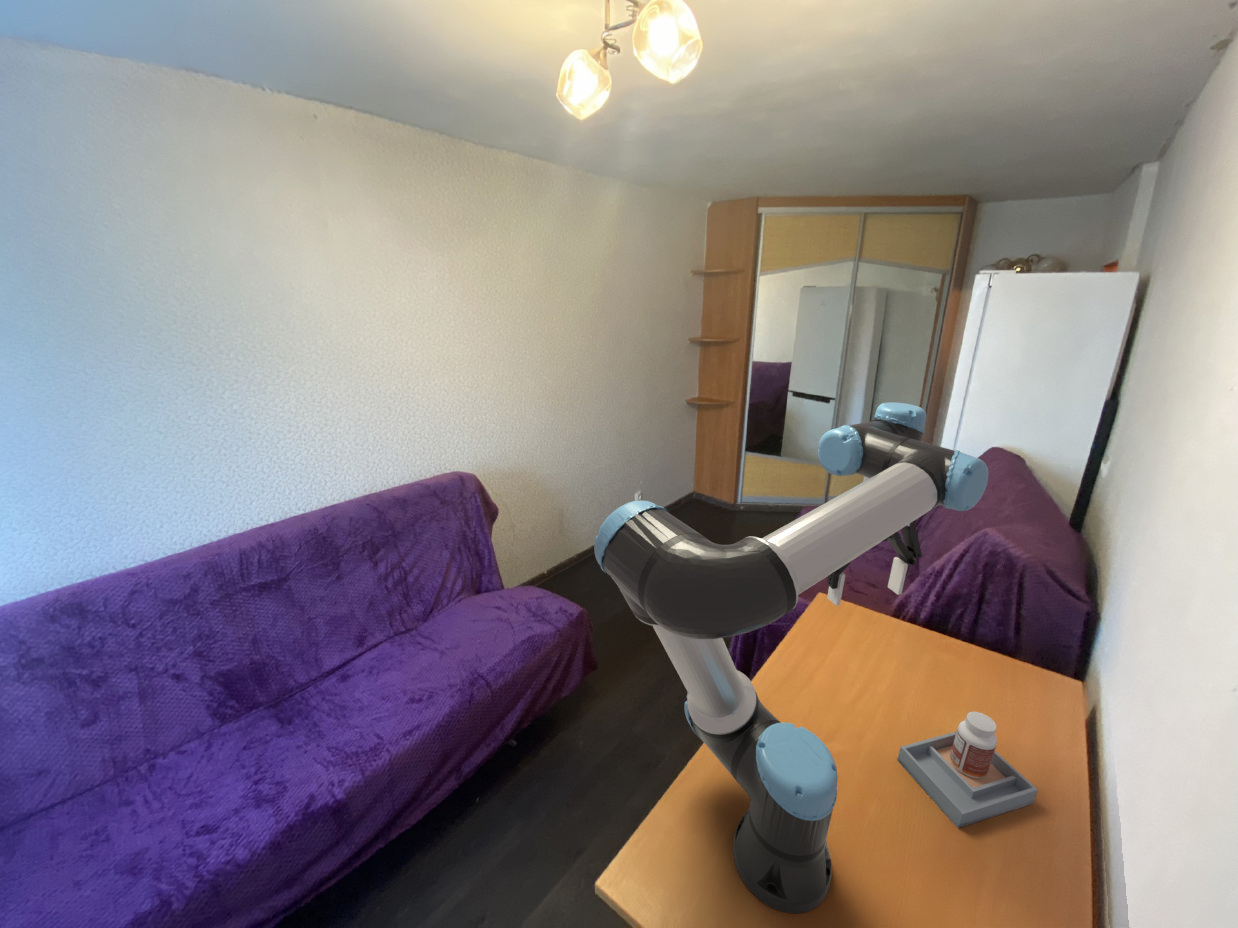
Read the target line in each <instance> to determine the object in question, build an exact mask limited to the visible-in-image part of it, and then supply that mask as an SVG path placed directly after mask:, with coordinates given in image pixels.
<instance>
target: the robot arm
mask: <svg viewBox="0 0 1238 928" xmlns="http://www.w3.org/2000/svg"><path fill="white" fill-rule="evenodd" d="M874 414H875V415H873V420H871V421H865V422H862V423H861V422H859V423H855V424H845V425H842V426H839V427H837V428H833V429H830V430H828V431H826V432H825V433H824V434H823V435H822V436H821V438H820V440H819V442H818V446H817V448H818V449H817V456H818V459H819V462H820V465H821V466H822V468H823V469H824V470H825V471H826V472H828V473H829V474H831V475H833V476H837V477H842V476H853V475H855V474H856V475H860V476H863V480H862V482H861V483H859V484H857V485H856V486H854V487H851V488H850V489H848V490H846V491H845V492H842V493H841V494H840V495H837V496H835V497H834V498H832V499H830V500H828V501H827V502H825V503H823V504H821V505H819V506H817V507H816V508H814V509H812V510H811V511H809V512H807V513H805V514H804V515H802V516H799V517H798V518H796V519H794V520H792V521H790V522H788V524H784V526H781V527H780V528H778V529H776V530H775V531H773V532H771V533H769V534H767V535H765V536H764V537H762V538H760V537H757V536H755V535H754V536H750V535H749V536H746V537H743V538H742V539H741V540H739V541H736V542H735V543H732V544H720V543H715V542H712V541H711V540H709V538H707V537H705V536H704V535H702V534H701V533H699V532H698V531H696V530H695V529H693V528H692V527H690V526H689V525H687V524H686V523H684V522H683V521H682V520H680V519H678V518H677V517H675V516H674V515H672V514H671V513H670V512H669V511H668V509H667V508H665V507H664V506H660V505H658V504H656V503H654V502H651V501H649V500H633V501H629V502H626V503H625V504H623V505H621V506H619V507H618V508H617V507H616V509H615V510H614V511H613V512H611V513H610V514H609V515H608V516H607V517H606V518H605V520H604V521H603V522H602V524H601V526H600V527H599V530H598V531H599V532H598V534H597V535H596V537H595V540H594V544H593V545H594V548H593V549H594V552H593V553H594V556H595V559H596V561H597V563H598V565H599V567H600V569H601V570H602V571H603V573H605V574H607V575H609V576H610V577H611V579H612V580H613V581H614V583H615V584H616V585H617V588H619V589H618V590H619V591H620V592H621V594H622V596H623V598H624V599H625V602H626V603H627V605H628V607H629V609H630V610H631V612H632V613H633V615H634V616H635V618H637V620H638V621H640V622H642V623H643V624H646V625H649V626H651V627H653V630H654V631H655V633H656V635H657V637H658V638H659V641H660V642H661V644H662V646H663V648H664V650H665V652H666V654H667V656H668V658H669V659H670V661H671V663H672V665H673V667H674V668H675V671H676V672H677V675H679V676H678V677H679V678H680V680H681V682H682V684H683V686H684V688H685V689H686V691H687V695H686V699H687V700H686V701H684V714H685V718H686V721H687V723H688V724H689V726H690V728H691V730H692V731H693V733H694V734H695V735H696V737H697V738H698V739H700V740H701V741H702V742H703V743H704V744H705V746H706V747H707V748H708V750H710V751H711V753H712V754H713V755H714V757H716V759H717V760H718V761H719V762H720V763H721V765H722V766H724V768H725V769H726V770H727V771H728V772H729V774H730V775H731V776H732V778H733V779H734V780H735V781H736V783H737V784H738V785H739V786H740V787H741V788H742V789H743V791H744V792H745V793H746V795H748V797H749V799H750V801H749V808H748V810H747V811H746V812H745V813H744V815H743V816H742V818H741V819H740V820H739V822H738V824H737V826H736V829H735V833H734V836H733V847H732V852H733V853H732V854H733V861H734V865H735V867H736V870H737V873H738V875H739V877H740V879H741V881H742V882H743V883H744V885H745V887H746V888H748V890H749V891H750V892H751V893H752V895H754V896H755V898H757V899H758V900H760V901H761V902H762V903H764V904H765V905H766V906H769V907H771V908H772V909H775V910H777V911H779V912H784V913H789V914H802V913H807V912H810V911H812V910H814V909H815V908H817V907H818V906H819V905H820V904H821V903H822V902H823V901H824V900H825V898H826V897H827V895H828V892H829V889H830V884H831V881H832V880H831V879H832V872H833V871H832V870H833V866H832V865H833V863H832V859H831V854H830V850H829V847H828V846H829V845H828V841H827V837H828V832H829V828H830V825H831V819H832V814H833V810H834V807H835V805H836V802H837V796H838V789H837V788H838V776H839V775H838V769H837V765H836V762H835V759H834V757H833V755H832V753H831V751H830V750H829V748H828V747H827V745H826V744H825V743H824V742H823V741H822V739H821V738H819V737H818V736H817V735H816V734H815V733H813V732H812V731H810V730H809V729H807V728H806V727H804V726H801V725H800V726H799V727H796V726H795V724H794V723H792V722H781V721H780V720H779V719H778V718H777V717H775V715H774V714H773V713H772V712H770V710H768V709H767V708H766V707H765V706H764V705H763V703H762V702H761V700H760V698H759V696H758V693H757V691H756V689H755V687H754V684H753V683H752V681H751V680H750V678H749V677H748V676H747V675H746V674H744V673H743V672H741V671H740V670H738V669H737V668H736V666H735V663H734V661H733V658H732V657H731V654H730V651H729V649H728V648H727V646H726V645H727V644H726V643H725V640H724V638H731V637H735V636H739V635H744V634H746V633H750V632H752V631H753V632H754V631H756V630H758V629H761V628H763V627H766V626H768V625H770V624H772V623H774V622H776V621H777V620H779V619H781V618H782V617H784V616H785V615H787V614H789V613H790V612H792V611H793V610H794V609H795V608H796V606H797V605H798V601H799V595H800V594H802V593H803V592H805V591H807V590H808V589H809V588H812V586H815V585H816V584H817V583H819V582H821V581H822V580H824V579H826V578H827V581H826V583H827V586H828V589H827V596H826V598H827V599H828V600H829V601H830V602H831V603H832V604H833V605H834V606H835V607H839V606H841V601H842V596H843V590H844V585H845V579H846V574H845V573H844V571H845V570H846V569H847V568H848V567H849V566H850V564H851V563H852V562H853V561H854V560H855V559H856V558H859V557H860V556H862V555H863V554H864V553H866V552H868V551H869V550H871V549H872V548H874V547H875V546H877V545H879V544H880V543H881V542H888V543H889V544H890V545H891V547H892V548H893V551H895V553H896V555H897V556H895V557H893V560H892V564H891V565H892V566H891V570H890V575H889V579H888V583H887V588H888V589H889V590H891V591H892V592H893V593H895V594H896V595H897V596H900V595H902V593H903V589H904V583H905V580H906V577H907V576H908V574H909V571H910V570H909V569H910V565H911V566H916V564H917V560H919V559H921V558H922V556H923V553H922V550H921V543H920V541H919V537H918V532H917V528H916V525H917V524H916V523H917V520H918V519H919V518H920V517H922V516H924V515H925V514H927V513H928V512H930V511H931V510H934V509H935V508H937V507H938V506H942V507H944V508H945V509H947V510H949V509H950V510H954V511H958V512H965V511H969V510H971V509H972V508H973V507H975V506H976V505H977V503H978V502H979V501H980V500H981V499H982V497H983V495H984V493H985V491H986V488H987V486H988V482H989V468H988V465H987V463H985V461H984V460H982V459H980V458H978V457H976V456H972V455H970V454H967V453H964V452H961V451H960V450H958V449H956V450H953V449H950V448H946V447H943V446H940V445H936V444H932V443H928V442H925V441H923V437H924V435H925V431H926V430H925V428H926V420H927V412H926V411H925V409H924V408H922V407H920V406H918V405H915V404H911V403H910V404H909V403H906V402H905V403H904V402H895V401H894V402H893V401H892V402H883V403H881V404H880V405H878V407H876V411H875V413H874ZM900 530H901V535H902V537H901V535H900V534H899V531H900ZM902 538H903V539H902ZM916 559H917V560H916Z"/></svg>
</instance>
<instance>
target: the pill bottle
mask: <svg viewBox="0 0 1238 928" xmlns="http://www.w3.org/2000/svg"><path fill="white" fill-rule="evenodd" d="M997 729H998V727H997V724H996V722H995V721H994V719H992V718H991V717H990V716H988V715H986V714H985V713H982V712H979V711H970V712H968V713H967V714H966V717H965V719H964V720H962V721H960V723H958V727H957V733H956V736H955V740H954V743H953V746H952V750H951V753H950V760H951V763H952V764H953V766H954V767H955V768H956V769H957V770H958V771H960V772H961V773H963V774H964V775H966V776H969V777H972V778H983V777H985V776H986V775H987V773H988V770H989V767H990V764H991V760H992V757H993V754H994V751H996V747H997V744H998V739H997V735H996V731H997Z"/></svg>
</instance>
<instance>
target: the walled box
mask: <svg viewBox="0 0 1238 928" xmlns="http://www.w3.org/2000/svg"><path fill="white" fill-rule="evenodd" d="M956 733H957V731H956V730H955V731H953V732H950V733H945V734H943V735H938V736H935V737H931V738H927V739H924V740H920V741H916V742H911V743H909V744H905V745H902V746H900V747H899V751H898V755H897V758H896V760H897V762H898V763H899V764H900V765H901V766H902V767H903V768H904V769H905V771H906V772H907V774H909V775H910V777H912V779H914V781H915V782H916V783H917V784H918V785H919V786H920V787H921V789H922V790H923V791H924V792H925V793H926V794H927V796H929V798H930V799H932V801H933V802H934V803H935V805H936V806H937V807H938V808H939V809H940V810H941V811H942V813H944V814H945V816H946V817H947V818H948V819H949V820H950V821H951V822H952V824H953V825H954V826H955V827H956V828H957V829H960V828H964V827H967V826H969V825H970V826H971V825H973V824H976V823H978V822H981V821H984V820H987V819H991V818H993V817H997V816H1000V815H1003V814H1007V813H1009V812H1011V811H1015V810H1017V809H1018V810H1019V809H1021V808H1024V807H1027V806H1031V805H1033V804H1034V801H1035V798H1036V797H1037V794H1038V792H1039V789H1038V788H1037V787H1036V786H1035V785H1034V784H1033V783H1031V781H1029V780H1028V779H1027V778H1026V777H1025V776H1024V775H1022V773H1020V772H1019V770H1017V769H1016V768H1015V767H1014V766H1013V765H1011V764H1010V763H1009V762H1008V761H1007V760H1006V759H1005V758H1004V757H1003V756H1002V755H1000V753H999V752H997V750H995V751H994V754H993V757H992V760H991V764H990V767H989V770H988V773H987V775H986V776H985V777H983V778H972V777H969V776H966V775H964V774H963V773H961V772H960V771H958V770H957V769H956V768H955V767H954V766H953V764H952V763H951V760H950V753H951V750H952V746H953V743H954V740H955V736H956Z"/></svg>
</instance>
